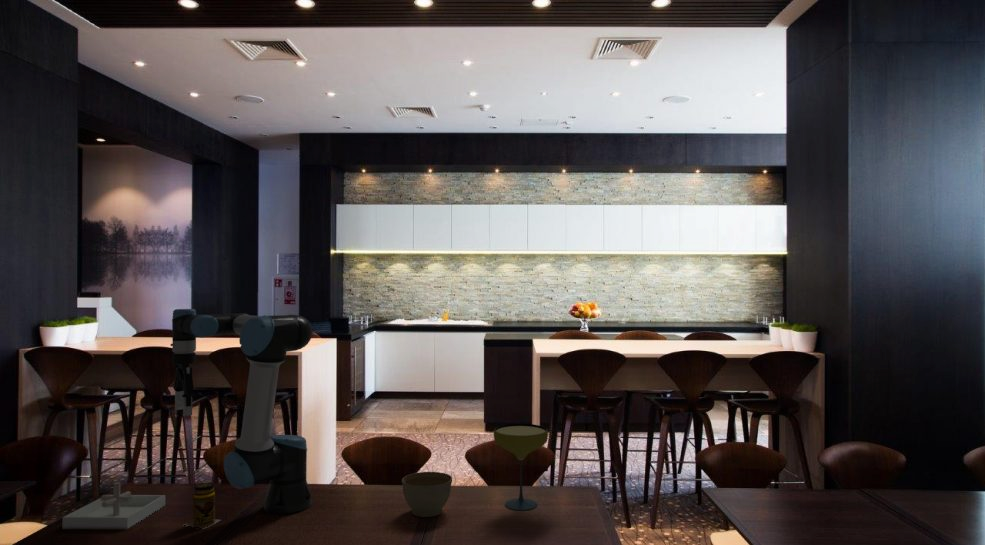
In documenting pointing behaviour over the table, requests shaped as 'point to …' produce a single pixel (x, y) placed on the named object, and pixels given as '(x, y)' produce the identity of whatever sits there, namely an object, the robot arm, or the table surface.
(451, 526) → the table surface
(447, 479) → the planter bowl
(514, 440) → the cocktail glass
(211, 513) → the condiment
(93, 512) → the tray
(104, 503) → the pipe connector
